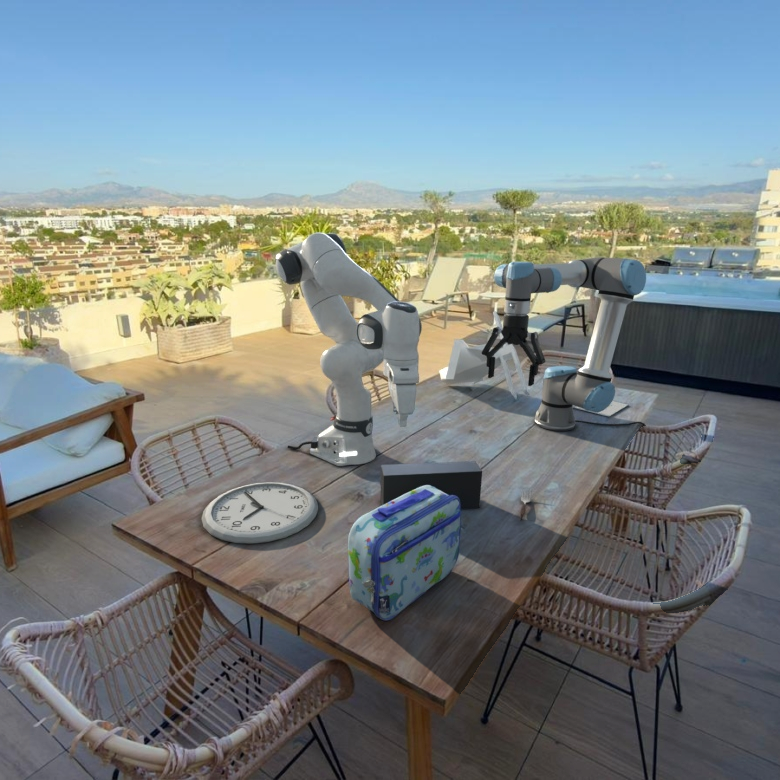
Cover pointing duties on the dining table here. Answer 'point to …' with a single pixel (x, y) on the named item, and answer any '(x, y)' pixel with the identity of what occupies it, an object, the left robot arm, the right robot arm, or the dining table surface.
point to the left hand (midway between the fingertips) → (399, 419)
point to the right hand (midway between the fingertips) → (510, 381)
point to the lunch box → (403, 549)
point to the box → (433, 480)
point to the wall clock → (259, 513)
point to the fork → (525, 500)
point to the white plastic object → (480, 363)
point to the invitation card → (609, 409)
